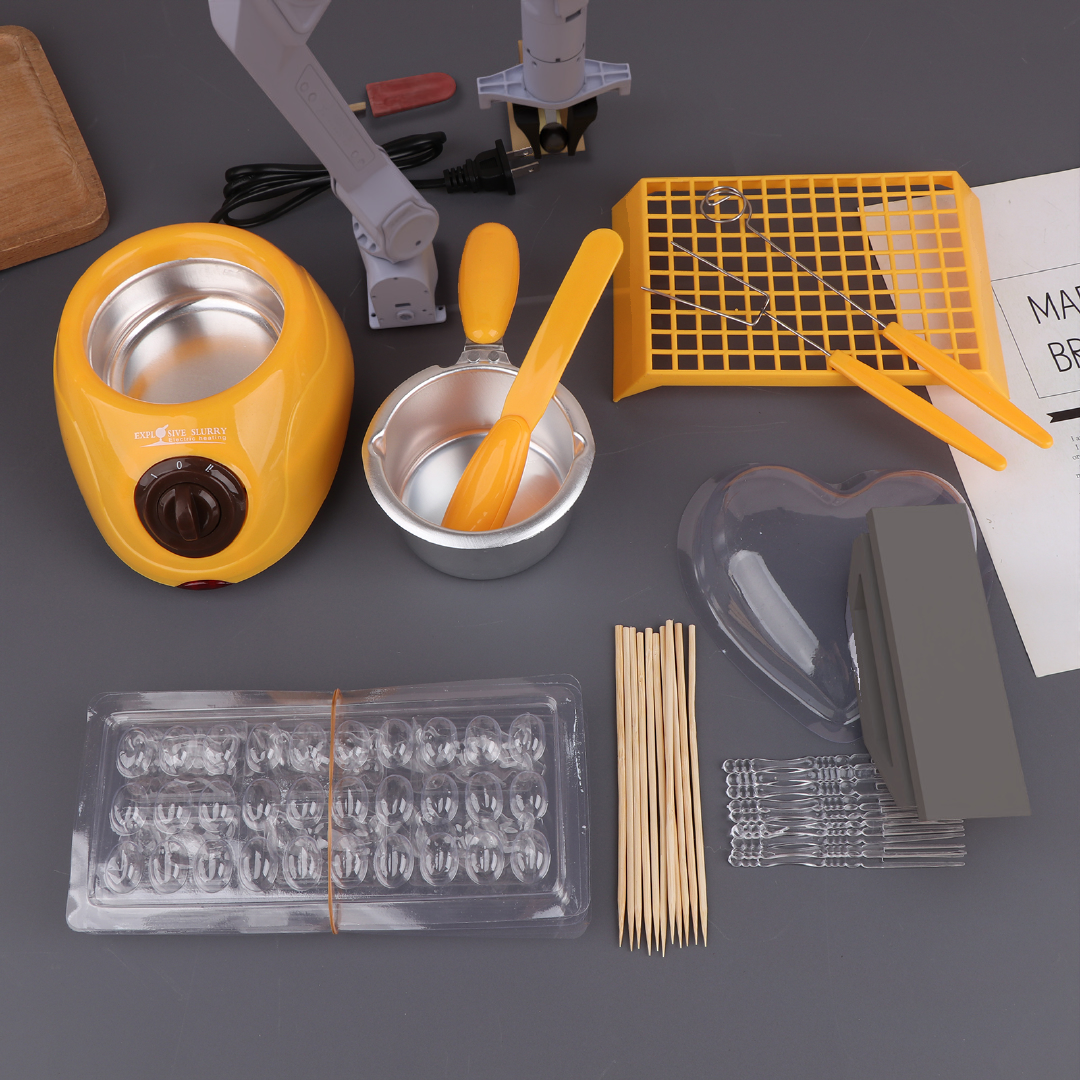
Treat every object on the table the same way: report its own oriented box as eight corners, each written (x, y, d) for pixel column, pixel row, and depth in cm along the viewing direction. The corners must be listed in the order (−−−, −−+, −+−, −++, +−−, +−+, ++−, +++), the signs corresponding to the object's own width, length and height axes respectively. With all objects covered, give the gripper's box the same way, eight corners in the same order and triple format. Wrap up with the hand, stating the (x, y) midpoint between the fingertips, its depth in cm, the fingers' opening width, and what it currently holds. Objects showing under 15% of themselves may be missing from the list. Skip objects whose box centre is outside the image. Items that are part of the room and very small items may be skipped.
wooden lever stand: (584, 158, 100) (588, 88, 90) (514, 164, 100) (510, 95, 90) (574, 88, 103) (576, 14, 94) (505, 95, 103) (501, 21, 94)
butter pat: (562, 152, 99) (563, 136, 96) (536, 154, 98) (535, 138, 96) (558, 123, 100) (559, 107, 98) (532, 126, 100) (531, 109, 98)
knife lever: (569, 159, 92) (570, 138, 89) (540, 161, 92) (540, 140, 89) (556, 67, 96) (556, 44, 93) (528, 70, 96) (528, 47, 93)
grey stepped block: (833, 548, 85) (871, 507, 74) (915, 544, 85) (965, 503, 74) (876, 823, 77) (927, 820, 66) (967, 818, 77) (1031, 815, 66)
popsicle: (322, 92, 101) (450, 66, 102) (325, 104, 103) (452, 78, 104) (329, 122, 99) (459, 95, 101) (332, 134, 101) (461, 107, 102)
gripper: (627, -3, 81) (617, 112, 94) (469, 12, 81) (481, 126, 94) (638, 57, 79) (627, 166, 92) (476, 72, 79) (487, 180, 92)
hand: (553, 149), depth 93 cm, fingers closed on knife lever, 3 cm apart
